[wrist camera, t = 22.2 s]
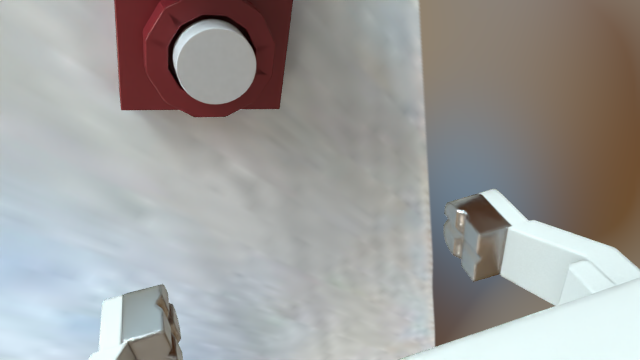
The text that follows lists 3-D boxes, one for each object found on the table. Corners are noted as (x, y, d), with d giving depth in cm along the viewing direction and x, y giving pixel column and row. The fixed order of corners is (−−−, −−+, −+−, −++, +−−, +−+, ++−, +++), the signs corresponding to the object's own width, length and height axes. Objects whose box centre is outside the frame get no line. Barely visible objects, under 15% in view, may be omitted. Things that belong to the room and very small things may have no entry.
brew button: (246, 92, 31) (253, 104, 29) (172, 92, 29) (176, 105, 28) (252, 20, 28) (260, 30, 27) (172, 15, 27) (176, 25, 25)
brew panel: (270, 95, 35) (287, 121, 32) (119, 95, 32) (122, 124, 29) (284, -23, 31) (304, -7, 28) (111, -39, 28) (114, -23, 24)
